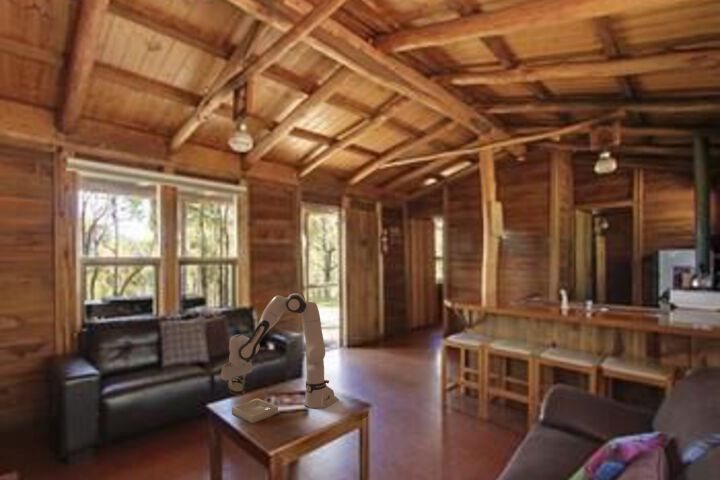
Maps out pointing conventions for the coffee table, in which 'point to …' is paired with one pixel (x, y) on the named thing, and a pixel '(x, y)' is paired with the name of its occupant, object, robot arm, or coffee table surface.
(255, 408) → the tray
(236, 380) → the food container
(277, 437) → the coffee table surface
